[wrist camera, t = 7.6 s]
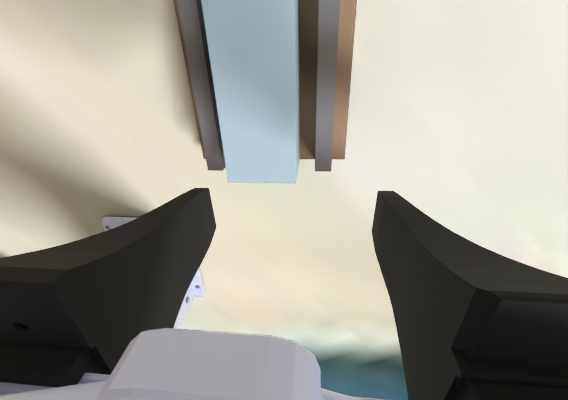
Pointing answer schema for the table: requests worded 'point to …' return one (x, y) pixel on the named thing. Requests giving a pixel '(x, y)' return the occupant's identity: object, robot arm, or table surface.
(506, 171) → the table surface
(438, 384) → the robot arm
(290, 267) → the table surface
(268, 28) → the dome-topped blue pillar
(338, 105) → the cradle
